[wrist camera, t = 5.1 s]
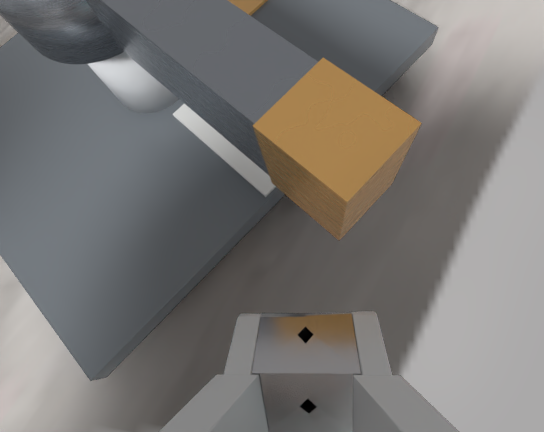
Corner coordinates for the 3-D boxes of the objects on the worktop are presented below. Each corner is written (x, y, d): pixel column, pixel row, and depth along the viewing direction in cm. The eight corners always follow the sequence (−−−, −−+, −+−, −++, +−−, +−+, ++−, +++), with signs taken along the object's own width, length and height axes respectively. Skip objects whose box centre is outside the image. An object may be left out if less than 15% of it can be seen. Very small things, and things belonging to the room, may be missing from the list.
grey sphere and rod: (288, 296, 10) (272, 280, 7) (-4, 12, 16) (-94, -76, 12) (436, 136, 11) (487, 52, 8) (112, -81, 16) (58, -187, 13)
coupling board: (106, 377, 17) (-180, 443, 7) (-73, 134, 23) (-356, -5, 13) (437, 38, 20) (544, -228, 10) (203, -96, 26) (134, -342, 16)
